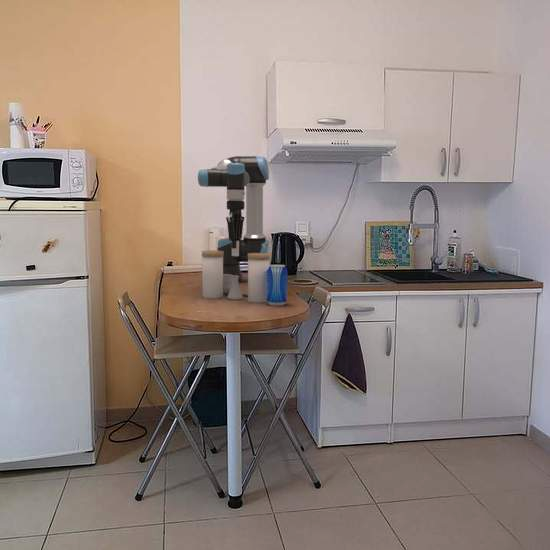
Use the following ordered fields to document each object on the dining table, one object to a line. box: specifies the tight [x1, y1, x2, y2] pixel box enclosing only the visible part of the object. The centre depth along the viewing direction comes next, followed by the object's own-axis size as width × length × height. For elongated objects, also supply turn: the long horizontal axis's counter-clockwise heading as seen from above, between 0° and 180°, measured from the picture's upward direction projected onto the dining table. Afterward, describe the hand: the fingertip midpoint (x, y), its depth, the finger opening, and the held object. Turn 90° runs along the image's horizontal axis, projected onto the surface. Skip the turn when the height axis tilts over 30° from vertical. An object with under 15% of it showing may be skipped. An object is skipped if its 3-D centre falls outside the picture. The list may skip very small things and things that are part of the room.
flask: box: [226, 275, 244, 301], centre depth 234 cm, size 7×7×10 cm
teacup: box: [223, 274, 233, 293], centre depth 252 cm, size 14×11×8 cm
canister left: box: [201, 250, 224, 300], centre depth 237 cm, size 9×9×20 cm
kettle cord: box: [223, 292, 248, 298], centre depth 241 cm, size 25×1×1 cm, turn 67°
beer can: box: [266, 264, 288, 307], centre depth 222 cm, size 8×8×16 cm
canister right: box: [247, 252, 271, 304], centre depth 229 cm, size 9×9×20 cm
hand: (235, 255), depth 232 cm, fingers closed
